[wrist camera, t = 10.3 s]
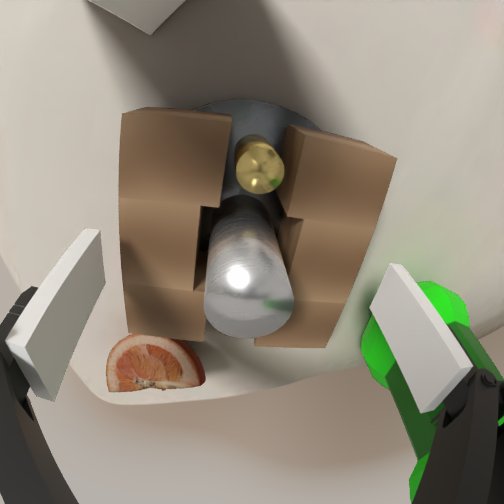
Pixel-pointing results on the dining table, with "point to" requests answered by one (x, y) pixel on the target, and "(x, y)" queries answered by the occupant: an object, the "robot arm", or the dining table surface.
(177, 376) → the fruit slice
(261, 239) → the post base
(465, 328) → the plastic bottle
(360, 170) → the flange block
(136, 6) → the milk carton
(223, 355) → the dining table surface
